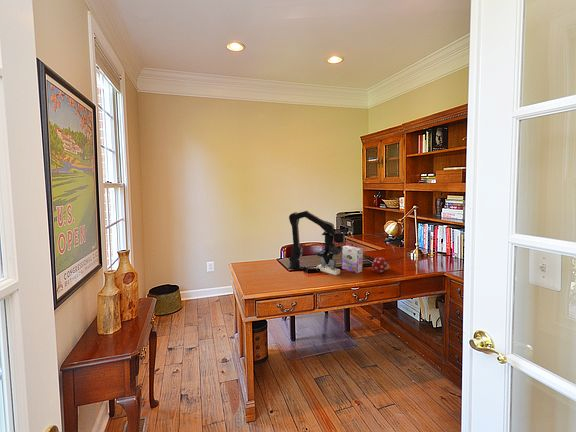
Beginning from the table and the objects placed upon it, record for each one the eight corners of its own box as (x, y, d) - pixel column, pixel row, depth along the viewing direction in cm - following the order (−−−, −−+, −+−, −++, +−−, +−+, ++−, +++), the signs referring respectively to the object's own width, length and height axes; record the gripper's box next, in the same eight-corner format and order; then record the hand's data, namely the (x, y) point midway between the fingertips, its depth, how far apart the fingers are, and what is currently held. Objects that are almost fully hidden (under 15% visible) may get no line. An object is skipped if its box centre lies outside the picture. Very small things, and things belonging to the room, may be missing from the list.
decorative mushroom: (388, 256, 229) (377, 252, 220) (398, 267, 222) (386, 264, 212) (378, 266, 233) (366, 263, 224) (386, 278, 226) (374, 275, 216)
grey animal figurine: (320, 265, 223) (320, 257, 222) (322, 264, 225) (323, 256, 224) (333, 269, 216) (334, 260, 215) (336, 268, 218) (336, 259, 217)
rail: (316, 270, 225) (316, 266, 224) (321, 268, 228) (321, 264, 228) (335, 275, 214) (336, 271, 214) (340, 273, 218) (340, 269, 217)
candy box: (362, 271, 222) (363, 248, 219) (357, 273, 218) (358, 250, 215) (346, 267, 232) (347, 244, 229) (341, 268, 228) (342, 246, 225)
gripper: (330, 246, 206) (330, 270, 208) (346, 241, 219) (345, 263, 222) (316, 243, 213) (316, 266, 216) (333, 238, 227) (332, 260, 229)
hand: (328, 264), depth 220 cm, fingers closed on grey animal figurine, 3 cm apart
